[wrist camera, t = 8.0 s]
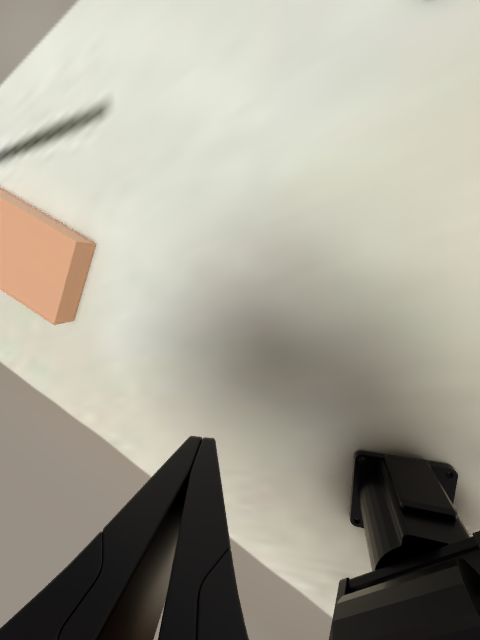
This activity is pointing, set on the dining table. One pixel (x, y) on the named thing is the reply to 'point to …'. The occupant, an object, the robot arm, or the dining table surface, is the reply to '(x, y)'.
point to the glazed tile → (41, 260)
